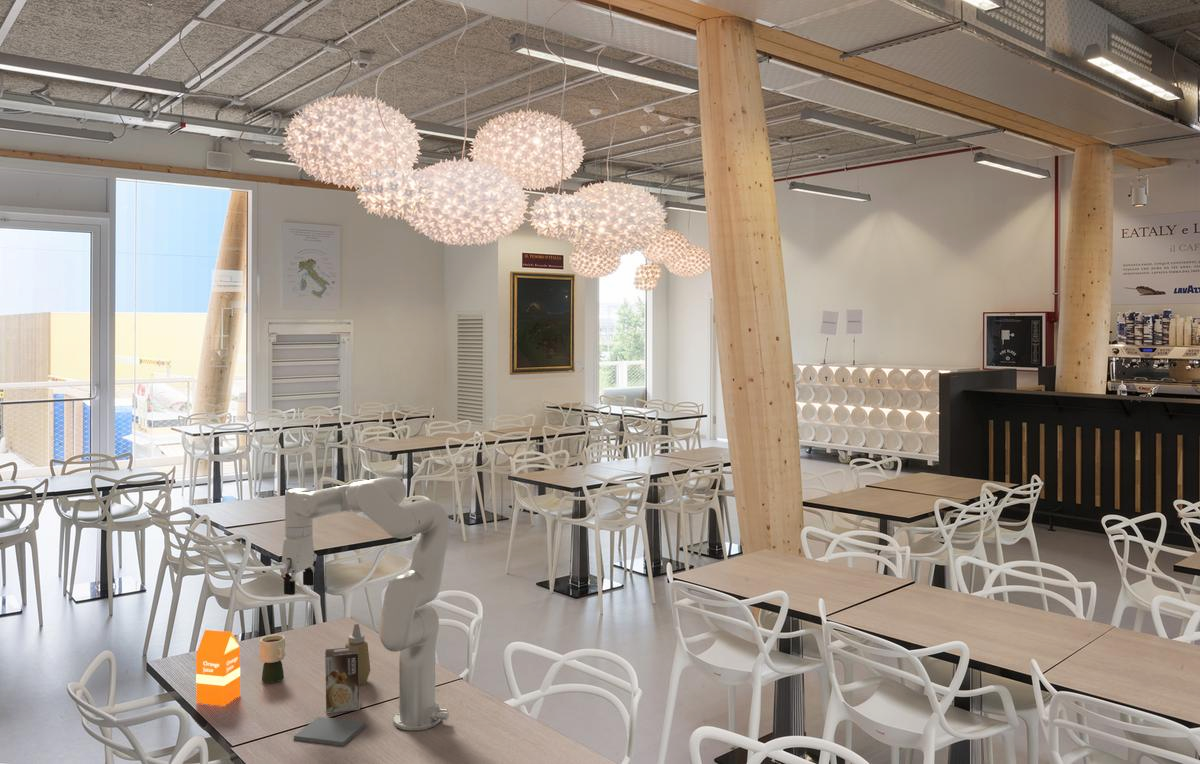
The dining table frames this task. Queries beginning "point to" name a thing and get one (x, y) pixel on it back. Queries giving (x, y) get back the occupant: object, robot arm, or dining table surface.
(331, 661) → the coffee box
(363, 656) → the squeeze bottle
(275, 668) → the character mug
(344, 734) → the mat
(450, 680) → the dining table surface
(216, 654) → the orange juice
